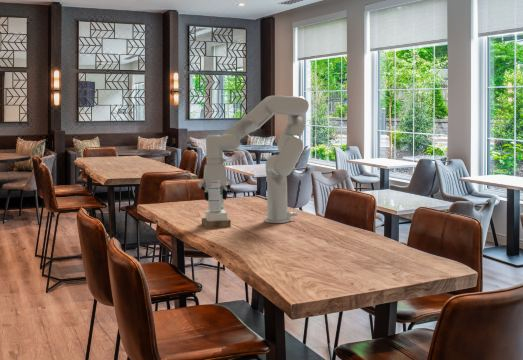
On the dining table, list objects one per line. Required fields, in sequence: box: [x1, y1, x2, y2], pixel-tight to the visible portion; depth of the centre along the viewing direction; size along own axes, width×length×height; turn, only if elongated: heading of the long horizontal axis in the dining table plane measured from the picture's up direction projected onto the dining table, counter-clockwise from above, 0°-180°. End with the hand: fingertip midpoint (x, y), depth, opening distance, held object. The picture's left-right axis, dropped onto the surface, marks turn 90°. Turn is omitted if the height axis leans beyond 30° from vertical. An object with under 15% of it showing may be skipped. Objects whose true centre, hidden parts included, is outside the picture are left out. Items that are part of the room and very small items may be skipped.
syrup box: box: [207, 180, 225, 211], centre depth 290 cm, size 6×6×14 cm
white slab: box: [204, 209, 228, 221], centre depth 291 cm, size 9×9×4 cm
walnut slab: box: [201, 217, 232, 229], centre depth 291 cm, size 11×11×4 cm
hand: (215, 199), depth 290 cm, fingers closed on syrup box, 7 cm apart
